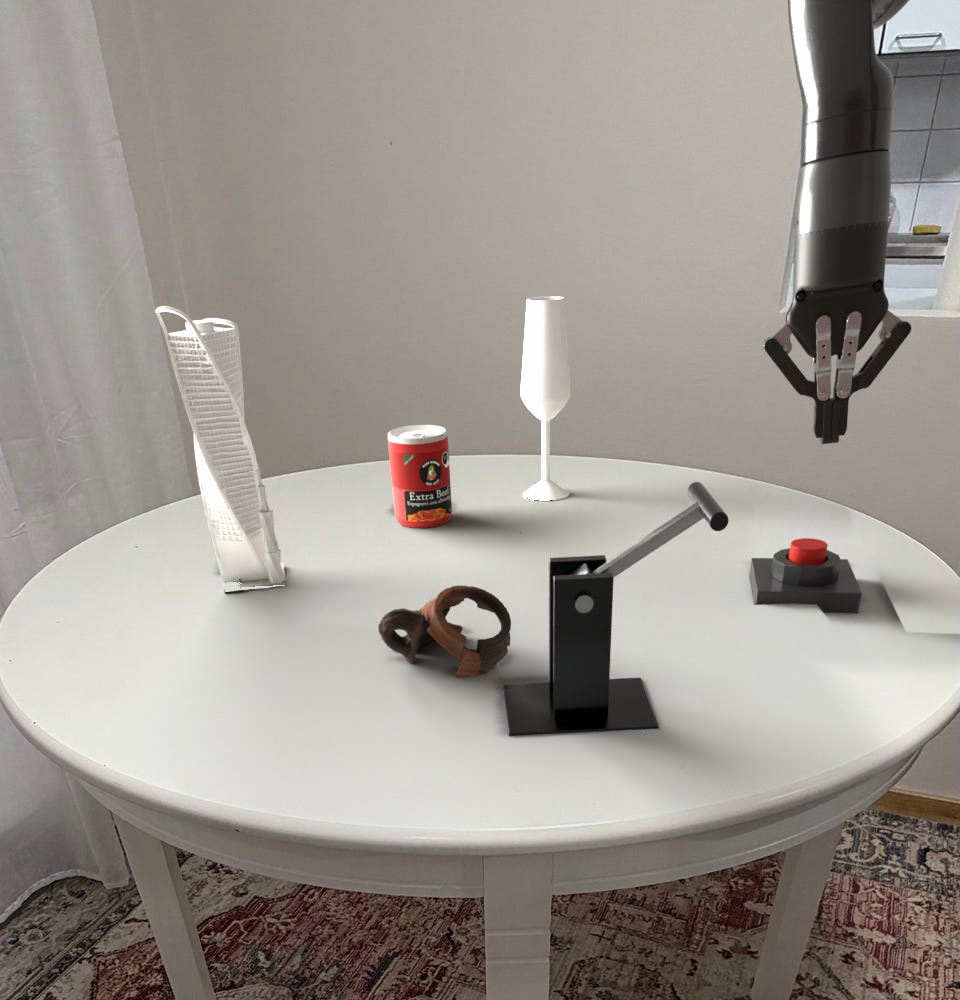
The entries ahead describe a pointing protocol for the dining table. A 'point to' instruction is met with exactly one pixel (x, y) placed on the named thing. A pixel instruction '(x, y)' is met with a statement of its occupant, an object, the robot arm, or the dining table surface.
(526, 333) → the champagne flute
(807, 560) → the button
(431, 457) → the canned food
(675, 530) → the switch lever
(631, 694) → the switch bracket
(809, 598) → the housing
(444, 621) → the brown curved ring piece
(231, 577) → the skyscraper
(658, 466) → the dining table surface
